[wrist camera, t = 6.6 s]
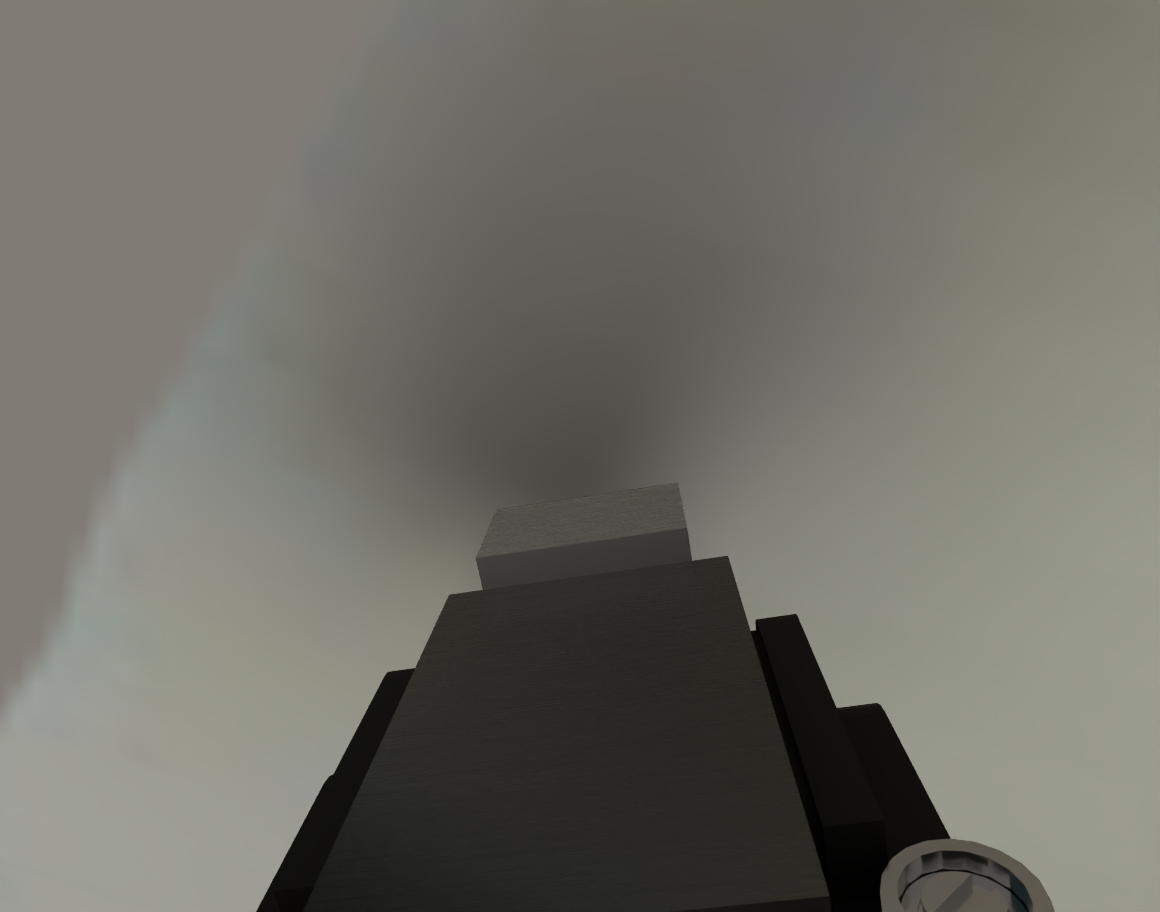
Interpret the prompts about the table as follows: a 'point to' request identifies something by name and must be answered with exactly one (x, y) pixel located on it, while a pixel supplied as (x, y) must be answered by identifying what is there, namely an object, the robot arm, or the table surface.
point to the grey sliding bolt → (582, 737)
